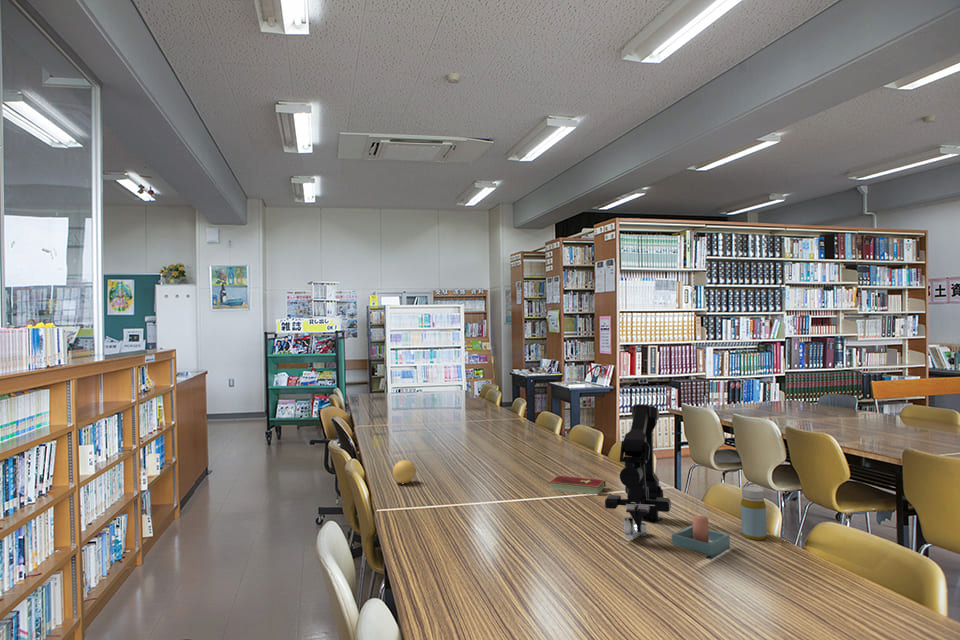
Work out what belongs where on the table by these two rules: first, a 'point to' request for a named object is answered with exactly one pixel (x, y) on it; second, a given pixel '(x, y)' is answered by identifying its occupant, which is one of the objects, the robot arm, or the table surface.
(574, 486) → the hardcover book
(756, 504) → the bottle
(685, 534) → the tray
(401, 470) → the stress ball
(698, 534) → the pin
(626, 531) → the crank
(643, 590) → the table surface
